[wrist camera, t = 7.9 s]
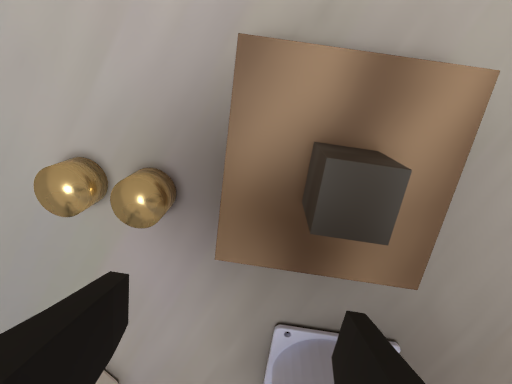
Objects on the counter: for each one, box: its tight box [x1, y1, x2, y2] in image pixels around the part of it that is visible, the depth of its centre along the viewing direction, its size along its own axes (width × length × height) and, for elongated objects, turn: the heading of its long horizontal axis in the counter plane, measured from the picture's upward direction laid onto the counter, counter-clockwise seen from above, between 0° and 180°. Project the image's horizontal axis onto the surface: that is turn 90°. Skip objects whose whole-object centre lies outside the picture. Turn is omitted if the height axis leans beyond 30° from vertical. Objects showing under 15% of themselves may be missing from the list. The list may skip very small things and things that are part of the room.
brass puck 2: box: [110, 168, 176, 228], centre depth 19 cm, size 3×3×2 cm
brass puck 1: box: [34, 157, 108, 217], centre depth 19 cm, size 3×3×2 cm
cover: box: [215, 33, 500, 290], centre depth 15 cm, size 11×11×8 cm
